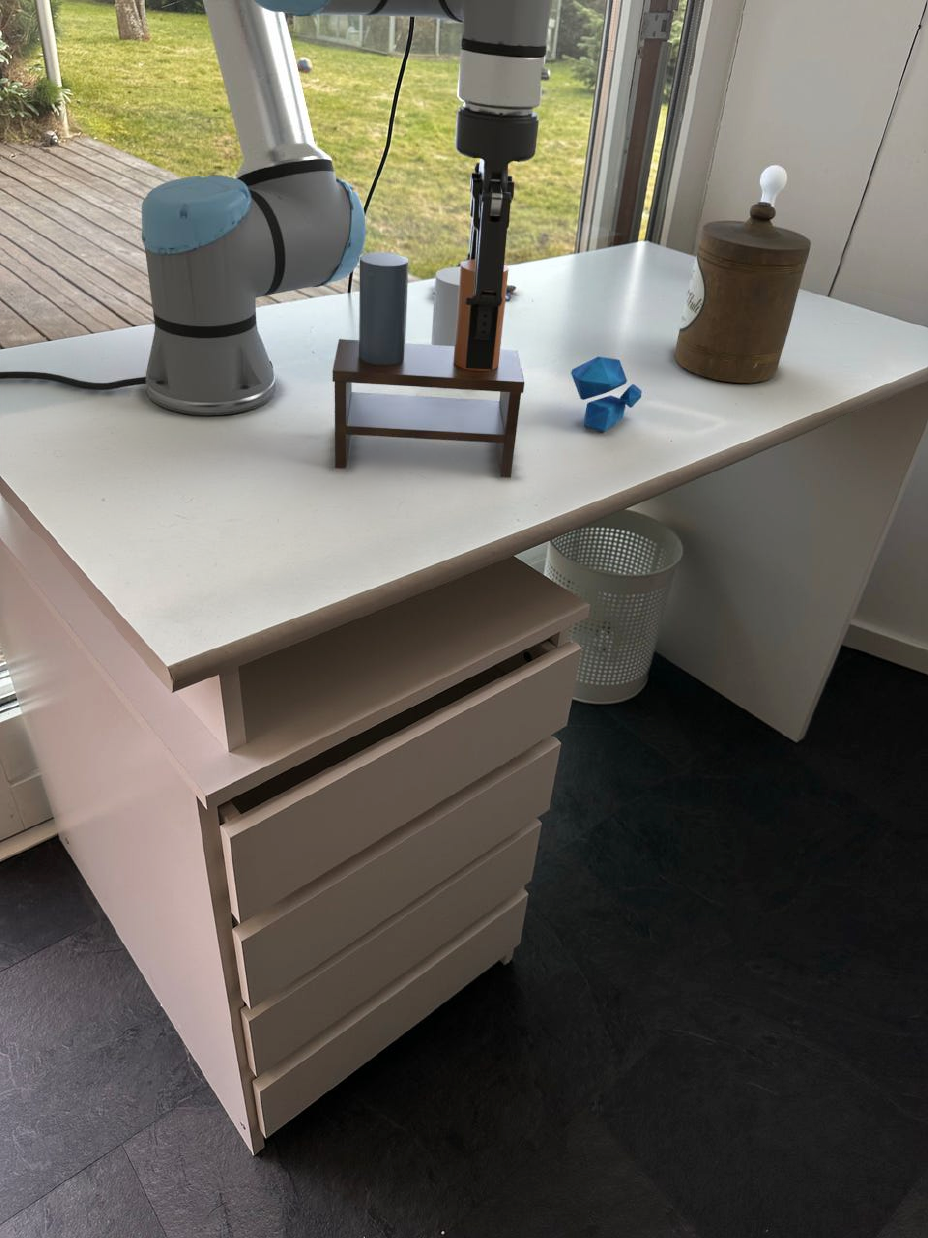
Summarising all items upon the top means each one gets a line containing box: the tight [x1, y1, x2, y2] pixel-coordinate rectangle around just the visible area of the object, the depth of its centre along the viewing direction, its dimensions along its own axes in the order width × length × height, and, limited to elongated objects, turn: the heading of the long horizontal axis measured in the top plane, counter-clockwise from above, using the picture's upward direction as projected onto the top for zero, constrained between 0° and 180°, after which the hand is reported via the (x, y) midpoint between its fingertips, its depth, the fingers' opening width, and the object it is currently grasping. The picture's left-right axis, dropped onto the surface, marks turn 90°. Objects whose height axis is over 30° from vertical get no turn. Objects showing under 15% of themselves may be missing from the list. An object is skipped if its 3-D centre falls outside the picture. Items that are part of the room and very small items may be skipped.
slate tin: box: [358, 251, 409, 365], centre depth 94 cm, size 5×5×10 cm
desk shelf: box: [332, 338, 525, 478], centre depth 100 cm, size 20×9×11 cm, turn 92°
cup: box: [430, 266, 460, 346], centre depth 122 cm, size 8×8×12 cm
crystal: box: [570, 356, 642, 433], centre depth 112 cm, size 7×9×12 cm
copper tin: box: [454, 259, 509, 371], centre depth 94 cm, size 5×5×10 cm
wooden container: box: [673, 201, 812, 384], centre depth 128 cm, size 15×15×22 cm
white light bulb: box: [759, 164, 788, 208], centre depth 161 cm, size 11×8×20 cm
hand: (477, 352), depth 97 cm, fingers open, 8 cm apart
